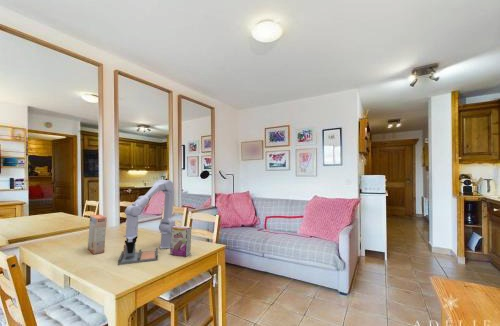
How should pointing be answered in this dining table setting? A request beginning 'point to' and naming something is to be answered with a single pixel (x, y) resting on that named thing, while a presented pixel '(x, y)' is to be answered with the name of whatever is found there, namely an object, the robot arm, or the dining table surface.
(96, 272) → the dining table surface
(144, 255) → the slot rack
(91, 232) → the cracker box
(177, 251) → the candy bar box
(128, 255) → the slate-blue block
